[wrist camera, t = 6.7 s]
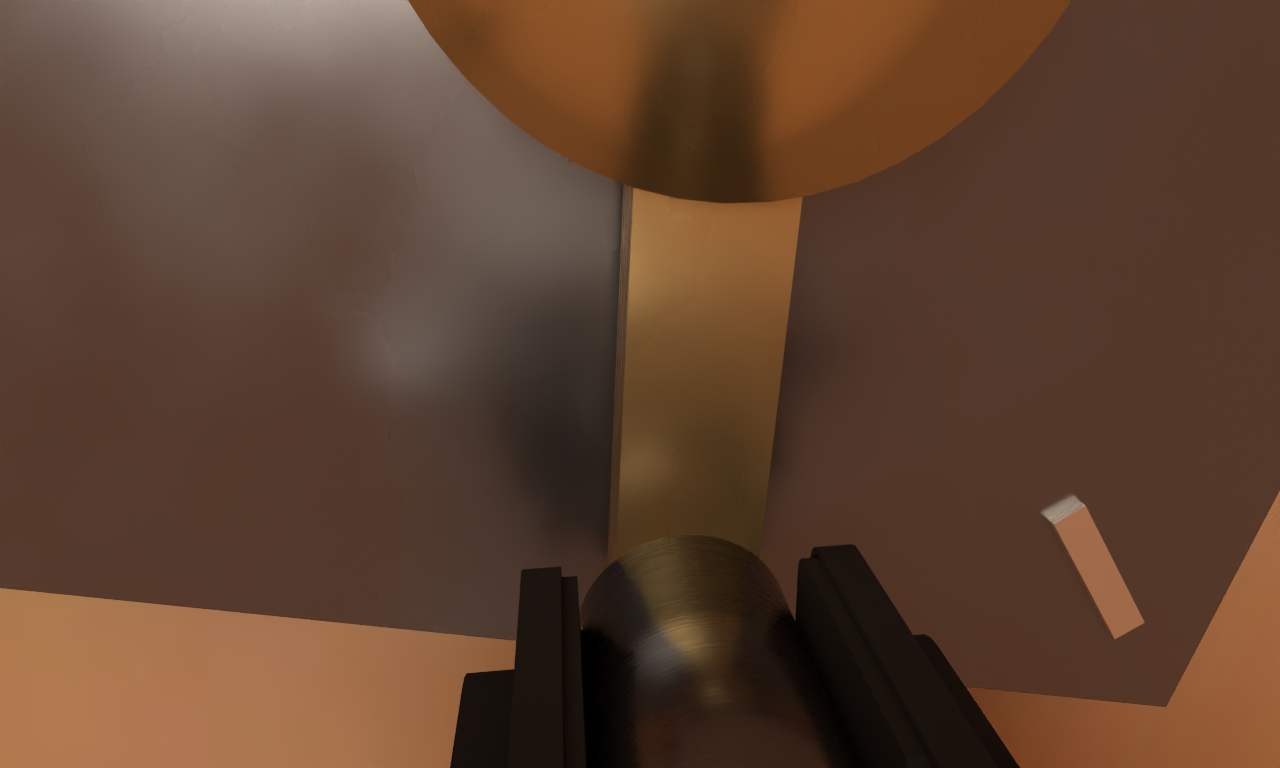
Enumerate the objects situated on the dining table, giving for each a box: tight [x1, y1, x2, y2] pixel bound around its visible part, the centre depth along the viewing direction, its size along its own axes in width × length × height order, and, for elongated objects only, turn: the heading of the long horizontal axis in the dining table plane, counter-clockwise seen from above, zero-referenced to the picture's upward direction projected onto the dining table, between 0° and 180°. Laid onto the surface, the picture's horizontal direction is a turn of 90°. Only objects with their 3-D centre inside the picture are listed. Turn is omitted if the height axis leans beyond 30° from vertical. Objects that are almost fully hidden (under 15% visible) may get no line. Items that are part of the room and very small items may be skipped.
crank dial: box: [408, 0, 1071, 768], centre depth 8 cm, size 16×8×7 cm, turn 177°
